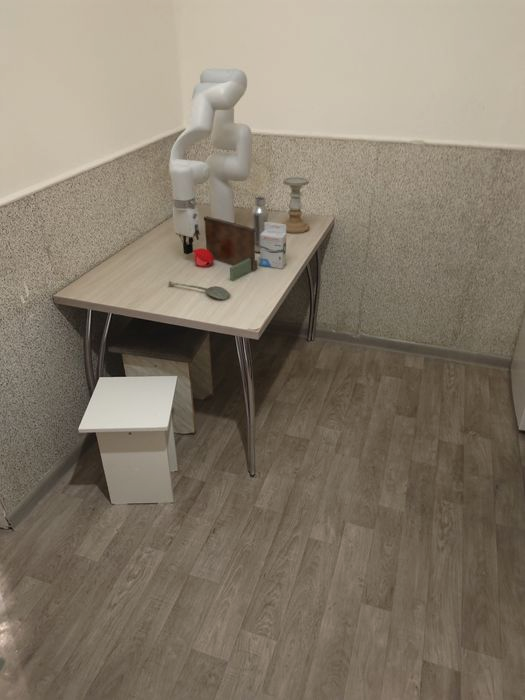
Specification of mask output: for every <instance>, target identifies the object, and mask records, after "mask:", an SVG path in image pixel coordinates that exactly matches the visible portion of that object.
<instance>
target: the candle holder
mask: <svg viewBox="0 0 525 700" xmlns="http://www.w3.org/2000/svg"><path fill="white" fill-rule="evenodd" d="M282 182H283V184H284V185H286V186H289V188H290V189H291V192H290V193H289V197H290V201H289V204H288V209H289V210H288V212H287V214H288V215H289V217H288V218H289V219H288V220H284V222H282V223H281V224H286V233H287V234H288V233H289V234H302V233H305V232H308V231H309V230H310V225H309V223H307V222H305V221H304V220H302V219H301V216H302V214H303V212H302V210H301V209H302V208H303V205H302V201H301V197H302V195H303V194H302V192H301V189H302V188H303V186H307V185H308V184H309V183H310V179H308V178H305V177H300V176H291V177H285V178H283V181H282Z"/></svg>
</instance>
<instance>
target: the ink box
mask: <svg viewBox="0 0 525 700" xmlns="http://www.w3.org/2000/svg"><path fill="white" fill-rule="evenodd" d="M264 229H265V230H264V231H263V232H262V233H261V234H260V252H259V266H260V267H267V268H274V269H281V270H282V269H283V268H284V267H285V266H286V263H287V262H286V261H287V236H288V235H287V234H288V232H286V224H282V223H277V222H269V221H268V222H265V223H264Z"/></svg>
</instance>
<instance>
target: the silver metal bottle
mask: <svg viewBox="0 0 525 700" xmlns="http://www.w3.org/2000/svg"><path fill="white" fill-rule="evenodd" d="M265 204H266V198H265V197H263V196H262V197H261V196H258V197H255V198H254V206H253V208H252V210H251V211H250V212H251V213H250V215H251V221H252V222H251V223H252V228H254V229H255V253H256V252H257V253H260V234H261V233H262V232H263V231H264V230H265V229H264V223H265V222H269V221H268V220H269V210H268V208H267V206H266V205H265Z"/></svg>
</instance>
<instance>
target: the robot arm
mask: <svg viewBox="0 0 525 700" xmlns="http://www.w3.org/2000/svg"><path fill="white" fill-rule="evenodd" d="M199 75H200V76H199V80H200V81H199V82H200V83H197V84H196V85H195V86H194V88H193V91H192V95H191V96H192V98H191V103H190V108H189V109H190V110H189V114H188V123H187V127H186V128H185V130H184V131H183V132H181V133H180V135H179V136H178V137H177V139H176V140H175V142H174V143H173V145H172V147H171V151H170V156H169V162H168V163H169V164H168V173H169V177H170V179H171V190H172V201H173V202H172V203H173V206H172V228H173V232H174V233H175V235H176V236H178V237H179V239H180V241H181V243H182V247H183V254H184V255H191V254H192V253H193V250H194V245H193V243H194V242H195V241H199V240H200V237H199V235H201V234H202V224H201V217H200V212H199V208H198V206H197V202H196V192H195V186H198V185H202V184H203V185H204V184H205V183H206V182H208V188H209V189H208V190H209V204H210V205H209V207H210V217H212V218H216V219H220V220H224V221H228V222H231V223H235V222H236V221H235V192H234V188H233V185H232V184H231V181H232V182H246V181H248V179H249V178H250V174H251V169H252V152H253V133H252V130H251V128H250V126H249V125H247V124H244V123H240V122H239V123H237V122H235V106H236V105H237V103H239V101H240V100H241V99H242V97H243V96H244V95H245V93H246V91H247V88H248V77H247V74H246V73H245V72H244V71H243V70H241V69H238V68H236V69H235V68H207V69H204V70H202V72H201V73H200V74H199ZM209 137H210V144H211V146H212V147H213V148H214V149H217V150H223V151H236V154H234V153H222V152H221V153H220V152H214V153H211V154H209V155H208V157H207V158H206V159H205V162H204V161H201V160H193V159H184V156H185V154H186V151H187V150H188V149H189V148H190V147H191V146H193V145H194V144H196V143H198V142H200V141H202V140H204V139H207V138H209ZM235 224H236V223H235ZM193 254H194V253H193Z"/></svg>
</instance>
